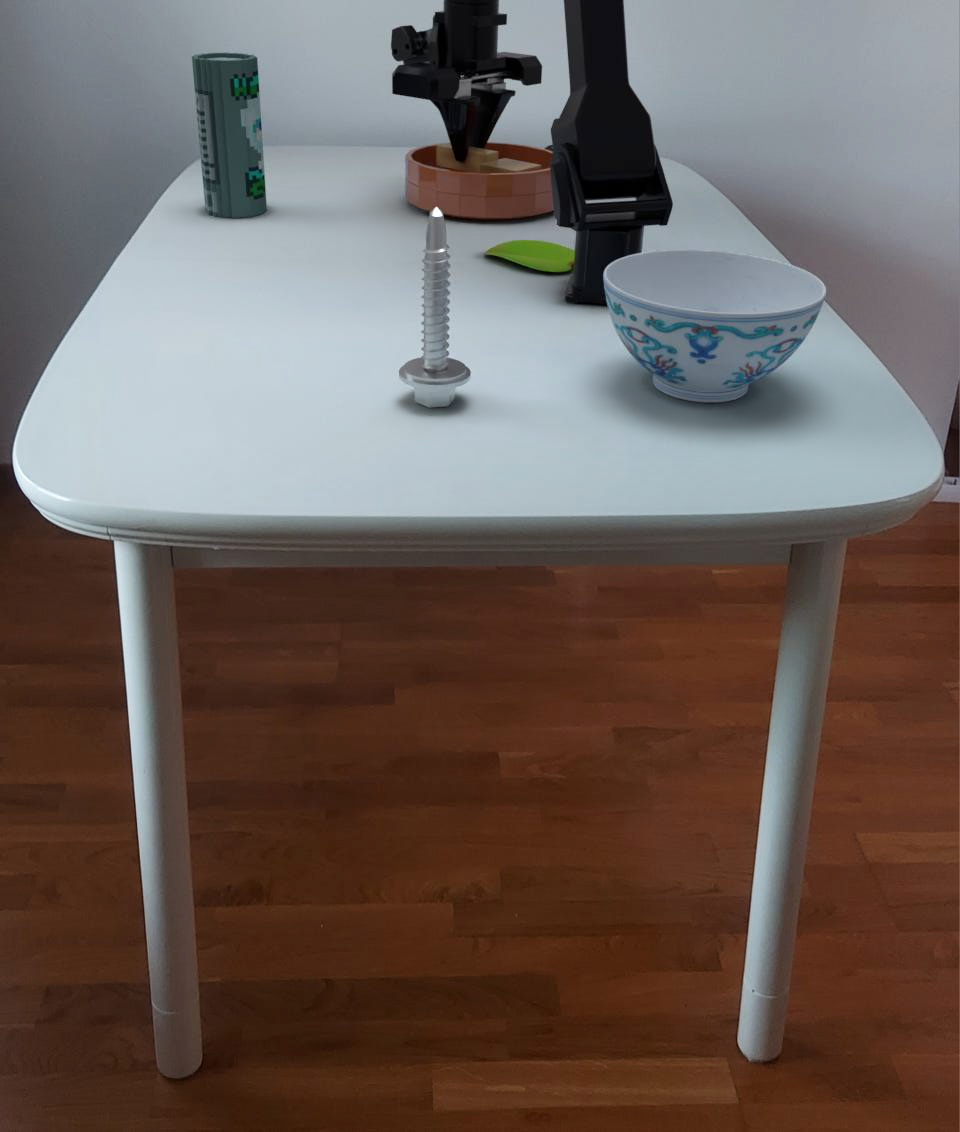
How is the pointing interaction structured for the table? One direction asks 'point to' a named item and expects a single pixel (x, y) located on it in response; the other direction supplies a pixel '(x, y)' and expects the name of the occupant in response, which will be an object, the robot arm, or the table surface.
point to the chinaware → (710, 317)
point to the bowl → (480, 185)
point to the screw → (435, 327)
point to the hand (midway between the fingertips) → (467, 159)
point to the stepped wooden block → (481, 161)
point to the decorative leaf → (536, 254)
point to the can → (230, 134)
